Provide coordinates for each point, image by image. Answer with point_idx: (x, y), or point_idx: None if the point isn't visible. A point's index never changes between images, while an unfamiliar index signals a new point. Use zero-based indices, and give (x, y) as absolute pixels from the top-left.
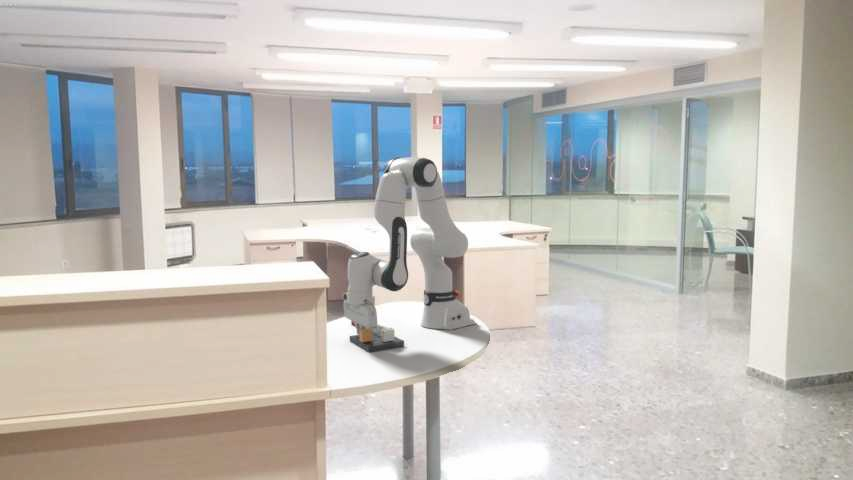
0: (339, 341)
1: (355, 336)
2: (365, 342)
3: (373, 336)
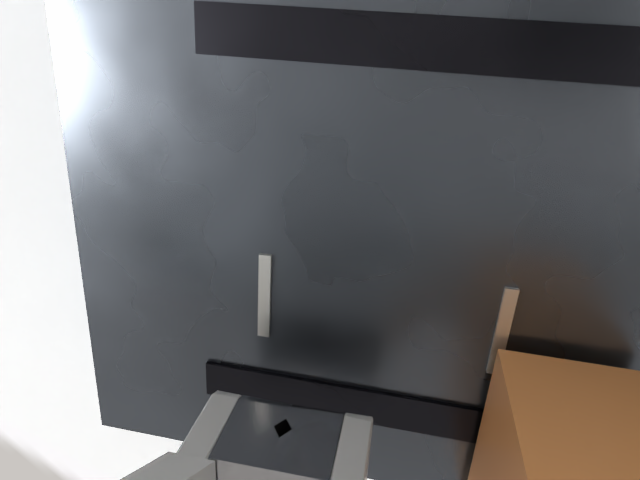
0: (95, 448)
1: (160, 381)
2: None
3: (325, 145)
